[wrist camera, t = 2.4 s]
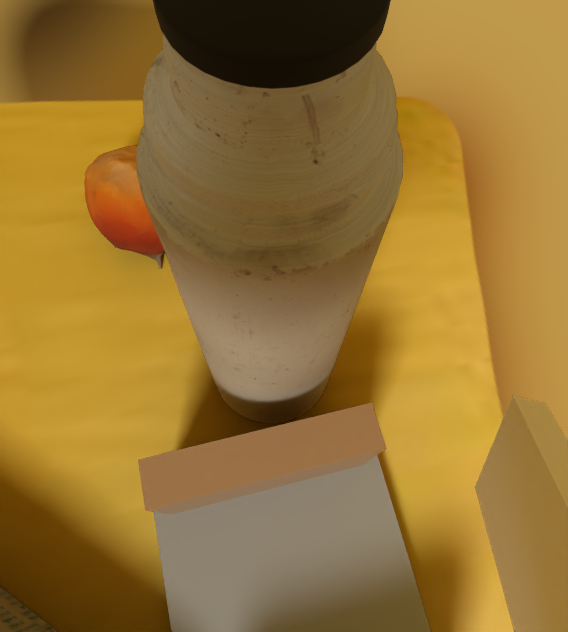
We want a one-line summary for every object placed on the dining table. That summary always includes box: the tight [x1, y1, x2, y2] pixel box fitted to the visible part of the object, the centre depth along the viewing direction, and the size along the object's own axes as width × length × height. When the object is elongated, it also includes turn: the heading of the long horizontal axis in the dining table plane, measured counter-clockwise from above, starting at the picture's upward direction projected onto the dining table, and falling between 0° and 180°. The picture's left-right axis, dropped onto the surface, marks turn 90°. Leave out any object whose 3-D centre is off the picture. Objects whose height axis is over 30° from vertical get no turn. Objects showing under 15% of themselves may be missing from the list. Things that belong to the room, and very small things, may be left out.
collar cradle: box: [138, 403, 431, 632], centre depth 27 cm, size 17×14×8 cm
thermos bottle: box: [137, 0, 403, 424], centre depth 23 cm, size 8×8×28 cm
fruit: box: [85, 145, 165, 269], centre depth 38 cm, size 8×8×8 cm
